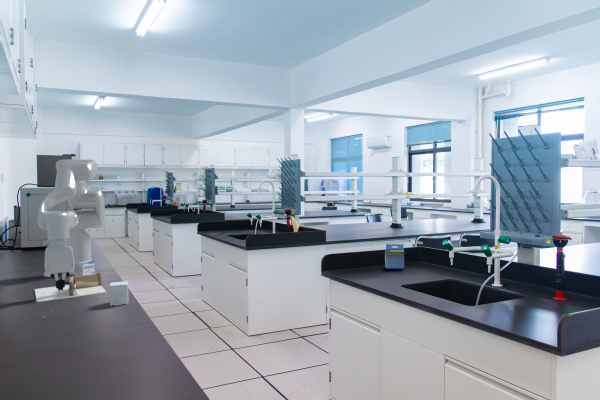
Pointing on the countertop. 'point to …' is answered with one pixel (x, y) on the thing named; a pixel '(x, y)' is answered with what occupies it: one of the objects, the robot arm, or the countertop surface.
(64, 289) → the card
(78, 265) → the medicine box
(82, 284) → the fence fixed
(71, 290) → the fence panel
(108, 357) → the countertop surface
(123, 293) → the product box
